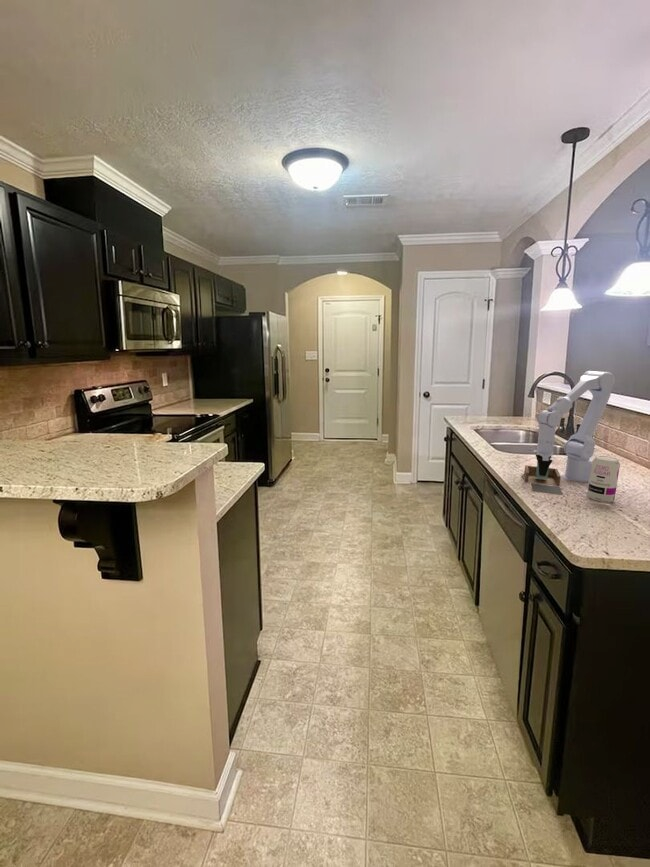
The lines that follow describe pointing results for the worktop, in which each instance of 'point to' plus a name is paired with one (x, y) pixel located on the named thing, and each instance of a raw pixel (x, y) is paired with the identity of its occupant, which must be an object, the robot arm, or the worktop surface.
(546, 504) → the worktop surface
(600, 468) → the supplement can
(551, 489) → the slate mat
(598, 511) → the worktop surface
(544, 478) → the block
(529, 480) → the walnut box
